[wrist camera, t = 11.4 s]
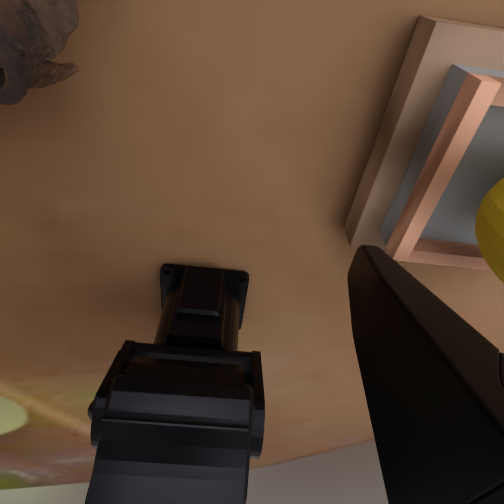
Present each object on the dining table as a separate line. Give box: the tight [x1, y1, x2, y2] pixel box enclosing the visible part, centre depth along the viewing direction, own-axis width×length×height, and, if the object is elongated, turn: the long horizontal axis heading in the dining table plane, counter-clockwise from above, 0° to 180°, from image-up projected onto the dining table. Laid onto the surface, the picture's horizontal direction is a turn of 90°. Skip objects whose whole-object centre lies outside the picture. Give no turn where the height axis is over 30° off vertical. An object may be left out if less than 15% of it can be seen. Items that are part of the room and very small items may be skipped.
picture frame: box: [344, 15, 504, 271], centre depth 19 cm, size 12×12×5 cm
